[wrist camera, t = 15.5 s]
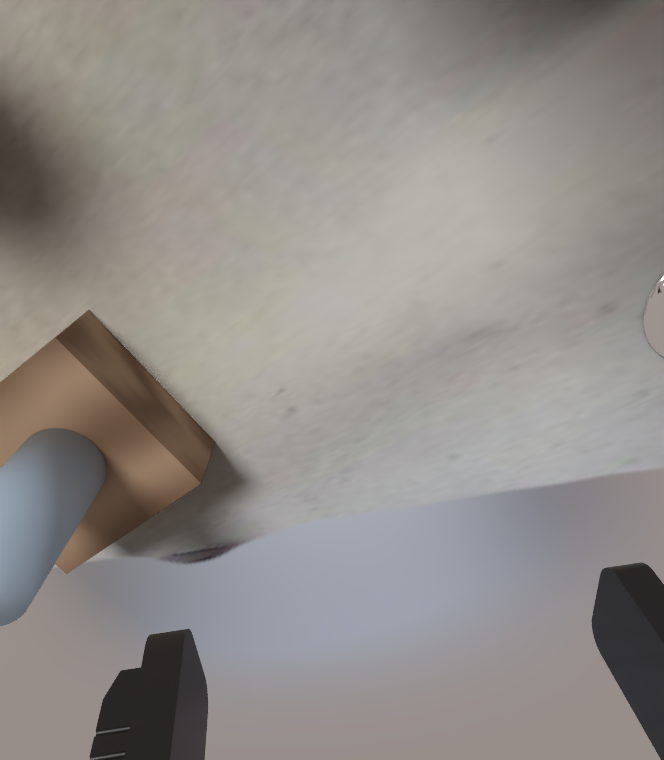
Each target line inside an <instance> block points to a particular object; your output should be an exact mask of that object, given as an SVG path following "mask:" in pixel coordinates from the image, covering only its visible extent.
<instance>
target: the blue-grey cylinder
mask: <svg viewBox="0 0 664 760" xmlns="http://www.w3.org/2000/svg"><path fill="white" fill-rule="evenodd" d="M106 474H107V468H106V463H105V460H104V457H103V455H102V453H101V452H100V450H99V449H98V448H97V447H96V446H95V444H94V443H92V442H91V441H90V440H89V439H87V438H86V437H84V436H83V435H81V434H79V433H76V432H74V431H71V430H67V429H62V428H49V429H44V430H40V431H38V432H36V433H34V434H32V435H31V436H30V437H29V438H28V439H27V440H26V441H25V442H24V443H23V444H22V445H21V446H20V447H19V448H18V450H17V451H16V452H15V453H14V454H13V455H12V456H11V457H10V458H9V459H8V460H7V462H6V463H5V464H4V465H3V466H2V467H1V468H0V626H2V625H6V624H9V623H11V622H13V621H15V620H17V619H18V618H19V617H21V616H22V615H23V614H24V613H25V612H26V610H27V609H28V607H29V605H30V604H31V602H32V600H33V599H34V597H35V595H36V594H37V592H38V590H39V589H40V587H41V586H42V584H43V582H44V581H45V579H46V577H47V576H48V574H49V573H50V571H51V569H52V568H53V566H54V564H55V563H56V561H57V559H58V558H59V556H60V555H61V553H62V551H63V550H64V548H65V546H66V545H67V543H68V541H69V540H70V538H71V536H72V535H73V533H74V532H75V530H76V528H77V527H78V525H79V523H80V522H81V520H82V518H83V517H84V515H85V514H86V512H87V510H88V509H89V507H90V505H91V504H92V502H93V500H94V499H95V497H96V496H97V494H98V492H99V491H100V489H101V487H102V486H103V484H104V482H105V479H106Z"/></svg>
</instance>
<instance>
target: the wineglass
mask: <svg viewBox="0 0 664 760" xmlns="http://www.w3.org/2000/svg"><path fill="white" fill-rule="evenodd" d="M643 327H644V331H645V336H646V338H647V340H648V342H649V344H650V345H651V347H652V348H653V349H654V350H655V351H656V352H657V353H658V354H659V355H661V356H662V357H664V274H663V275H662V276H661V277H660V278H659V280H658V281H657V282H656V284H655V285H654V287H653V288H652V290H651V292H650V294H649V296H648V299H647V301H646V304H645V308H644V313H643Z"/></svg>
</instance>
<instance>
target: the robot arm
mask: <svg viewBox="0 0 664 760" xmlns="http://www.w3.org/2000/svg"><path fill="white" fill-rule="evenodd" d="M592 629H593V634H594V638H595V642H596V644H597V647H598V649H599V651H600V653H601V655H602V657H603V658H604V660H605V662H606V664H607V666H608V667H609V669H610V671H611V672H612V674H613V676H614V678H615V680H616V681H617V683H618V685H619V687H620V688H621V690H622V691H623V694H624V695H625V697H626V699H627V701H628V702H629V704H630V706H631V708H632V709H633V711H634V713H635V715H636V716H637V718H638V720H639V722H640V723H641V725H642V727H643V729H644V731H645V732H646V734H647V736H648V737H649V739H650V741H651V743H652V745H653V746H654V748H655V750H656V752H657V753H658V755H659V757H660V758H661V760H664V584H663V583H662V582H661V580H660V579H659V578H658V577H657V575H656V574H655V572H654V571H653V570H652V569H651V568H650V567H649V566H648V565H646V564H644V563H635V564H629V565H622V566H615V567H608V568H604V569H603V570H602V572H601V575H600V579H599V584H598V590H597V595H596V600H595V605H594V611H593V616H592ZM207 695H208V694H207V685H206V679H205V675H204V672H203V669H202V665H201V662H200V658H199V655H198V652H197V649H196V645H195V642H194V639H193V635H192V632H191V631H190V629H185V630H179V631H172V632H166V633H159V634H152V635H149V637H148V638H147V641H146V645H145V650H144V655H143V661H142V666H141V668H135V669H128V670H122V671H120V673H119V675H118V676H117V678H116V679H115V681H114V683H113V684H112V686H111V687H110V689H109V691H108V692H107V694H106V695H105V697H104V699H103V702H102V706H101V711H100V715H99V719H98V723H97V728H96V737H94V741H93V745H92V749H91V753H90V760H204V759H205V745H206V731H207V715H208V696H207Z"/></svg>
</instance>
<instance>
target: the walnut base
mask: <svg viewBox="0 0 664 760" xmlns="http://www.w3.org/2000/svg"><path fill="white" fill-rule="evenodd" d="M49 428H62V429H67V430H71V431H74V432H76V433H79V434H81V435H83V436H84V437H86V438H87V439H89V440H90V441H91V442H92V443H94V444H95V446H96V447H97V448H98V449H99V450H100V452H101V453H102V455H103V457H104V460H105V463H106V468H107V474H106V479H105V482H104V484H103V486H102V487H101V489H100V491H99V492H98V494H97V496H96V497H95V499H94V500H93V502H92V504H91V505H90V507H89V509H88V510H87V512H86V514H85V515H84V517H83V518H82V520H81V522H80V523H79V525H78V527H77V528H76V530H75V532H74V533H73V535H72V536H71V538H70V540H69V541H68V543H67V545H66V546H65V548H64V550H63V551H62V553H61V555H60V556H59V558H58V559H57V561H56V563H55V564H56V565H57V566H58V567H59V568H61V569H62V570H63V571H64V572H65V573H69V572H70V571H72V570H73V569H75V568H76V567H78V566H79V565H81V564H82V563H84V562H85V561H87V560H88V559H90V558H91V557H93V556H94V555H96V554H97V553H99V552H100V551H102V550H103V549H105V548H106V547H108V546H109V545H111V544H112V543H114V542H115V541H117V540H118V539H119V538H121V537H122V536H124V535H125V534H127V533H128V532H130V531H131V530H133V529H134V528H136V527H137V526H139V525H140V524H142V523H143V522H145V521H146V520H148V519H149V518H151V517H152V516H154V515H155V514H157V513H158V512H160V511H161V510H163V509H164V508H166V507H167V506H169V505H170V504H172V503H173V502H174V501H176V500H177V499H179V498H180V497H182V496H183V495H185V494H186V493H188V492H189V491H191V490H192V489H194V488H195V487H197V486H198V485H200V484H201V482H202V480H203V477H204V474H205V471H206V468H207V465H208V462H209V459H210V457H211V454H212V451H213V448H214V445H215V442H214V441H213V440H212V438H211V437H210V436H209V435H208V434H207V433H206V432H205V431H204V430H203V429H202V428H201V427H200V426H199V425H198V424H197V423H196V422H195V421H194V420H193V419H192V418H191V416H190V415H189V414H188V413H187V412H186V411H185V410H184V409H183V408H182V407H181V406H180V405H179V404H178V403H177V402H176V401H175V400H174V399H173V398H172V397H171V396H170V394H169V393H168V392H167V391H166V390H165V389H164V388H163V387H162V386H161V385H160V384H159V383H158V382H157V381H156V380H155V379H154V378H153V377H152V376H151V375H150V374H149V372H148V371H147V370H146V369H145V368H144V367H143V366H142V365H141V364H140V363H139V362H138V361H137V360H136V359H135V358H134V357H133V356H132V355H131V354H130V353H129V352H128V351H127V349H126V348H125V347H124V346H123V345H122V344H121V343H120V342H119V341H118V340H117V339H116V338H115V337H114V336H113V335H112V334H111V333H110V332H109V331H108V330H107V329H106V327H105V326H104V325H103V324H102V323H101V322H100V321H99V320H98V319H97V318H96V317H95V316H94V315H93V314H92V313H91V312H90V311H89V310H88V311H87V312H86V313H84V314H83V315H82V316H81V317H80V318H78V319H77V320H76V321H75V322H73V323H72V324H71V325H70V326H69V327H67V328H66V329H65V330H64V331H62V332H61V333H60V334H59V335H58V336H56V337H55V338H54V339H53V340H51V341H50V342H49V343H48V344H47V345H45V346H44V347H43V348H42V349H40V350H39V351H38V352H37V353H36V354H34V355H33V356H32V357H31V358H29V359H28V360H27V361H26V362H25V363H23V364H22V365H21V366H20V367H19V368H17V369H16V370H15V371H14V372H12V373H11V374H10V375H9V376H8V377H6V378H5V379H4V380H3V381H1V382H0V468H1V467H2V466H3V465H4V464H5V463H6V462H7V460H8V459H9V458H10V457H11V456H12V455H13V454H14V453H15V452H16V451H17V450H18V448H19V447H20V446H21V445H22V444H23V443H24V442H25V441H26V440H27V439H28V438H29V437H30V436H31V435H32V434H34V433H36V432H38V431H40V430H44V429H49Z"/></svg>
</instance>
